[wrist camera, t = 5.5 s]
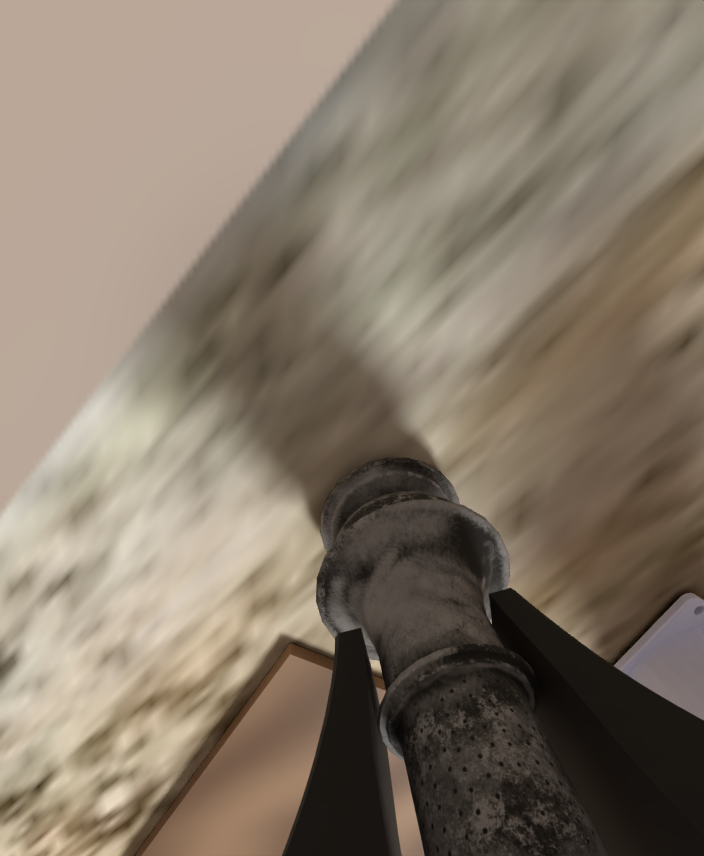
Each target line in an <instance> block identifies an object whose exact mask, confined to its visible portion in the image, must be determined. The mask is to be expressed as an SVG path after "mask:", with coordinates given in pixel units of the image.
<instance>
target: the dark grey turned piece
mask: <svg viewBox="0 0 704 856" xmlns="http://www.w3.org/2000/svg"><path fill="white" fill-rule="evenodd" d="M321 536H322V540H323V543H324V547H325V549H326V551H327V554H326V555H325V557H324V560H323V562H322V565H321V568H320V571H319V574H318V576H317V590H316V603H317V606H318V609H319V612H320V616H321V619H322V622H323V623H324V625H325V626H326V627H327V629H328V630H329V632H330V633H331V634H332V636H333V637H334V638H335V637H336V636H337V635H338V633H342V632H346V631H349V630H353V629H357V628H361V629H362V633H363V637H364V641H365V645H366V649H367V653H368V657H369V658H370V659H373V660H379V661H380V665H381V670H382V675H383V679H384V684H385V689H386V693H385V695H384V697H383V699H382V702H381V704H380V706H379V715H378V726H379V730H380V734H381V738H382V741H383V742H384V744H385V745H386V746H387V748H388V749H389V750H390V752H391V753H392V754H394V755H395V756H397V757H398V758H400V759H401V760H403V761H404V762H405V766H406V771H407V775H408V780H409V785H410V789H411V794H412V799H413V803H414V808H415V813H416V817H417V822H418V827H419V831H420V836H421V841H422V845H423V850H424V855H425V856H609V855H608V852H607V849H606V847H605V845H604V843H603V841H602V838H601V837H600V835H599V833H598V831H597V829H596V827H595V825H594V823H593V821H592V820H591V818H590V816H589V814H588V812H587V810H586V808H585V806H584V804H583V803H582V801H581V799H580V797H579V795H578V793H577V791H576V789H575V787H574V786H573V784H572V782H571V780H570V778H569V776H568V774H567V772H566V770H565V769H564V767H563V765H562V763H561V761H560V759H559V757H558V755H557V754H556V752H555V750H554V748H553V746H552V744H551V742H550V740H549V738H548V737H547V735H546V733H545V731H544V729H543V727H542V725H541V723H540V721H539V720H538V718H537V716H536V714H535V712H536V709H537V705H538V702H539V698H540V697H539V682H538V680H537V678H536V676H535V674H534V672H533V669H532V668H531V666H530V665H529V664H528V663H527V662H526V661H525V660H524V659H523V658H522V657H521V656H520V655H518V654H516V653H514V652H512V651H510V650H508V649H506V648H504V646H503V644H502V643H501V641H500V639H499V637H498V635H497V633H496V632H495V630H494V628H493V626H492V624H491V622H490V620H491V610H490V601H489V594H490V593H494V592H497V591H501V590H505V589H507V586H508V582H509V577H510V566H509V554H508V552H507V549H506V547H505V545H504V543H503V540H502V538H501V536H500V534H499V533H498V532H497V531H496V530H495V528H494V527H493V526H492V525H491V524H490V523H489V522H488V521H487V520H486V519H485V518H484V517H483V516H481V515H479V514H478V513H476V512H474V511H472V510H471V509H469V508H467V507H465V506H464V505H460V503H459V498H458V496H457V494H456V492H455V490H454V487H453V485H452V484H451V483H450V482H449V480H448V479H447V478H446V477H445V476H444V475H443V474H442V473H441V472H440V471H439V470H437V469H435V468H434V467H432V466H430V465H428V464H427V463H425V462H421V461H417V460H413V459H410V458H385V459H381V460H377V461H373V462H369V463H367V464H365V465H363V466H361V467H359V468H357V469H355V470H353V471H351V472H350V473H349V474H348V475H347V476H345V477H344V478H343V479H342V480H341V481H340V482H339V483H337V485H336V486H335V487H334V489H333V490H332V492H331V493H330V495H329V496H328V498H327V499H326V502H325V505H324V508H323V511H322V514H321Z"/></svg>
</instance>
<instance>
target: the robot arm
mask: <svg viewBox="0 0 704 856" xmlns="http://www.w3.org/2000/svg"><path fill="white" fill-rule="evenodd" d="M489 601H490V610H491V619H492V626H493V628H494V630H495V632H496V633H497V635H498V637H499V639H500V641H501V643H502V644H503V646H504V648H506V649H508V650H510V651H512V652H514V653H516V654H518V655H520V656H521V657H522V658H523V659H524V660H525V661H526V662H527V663H528V664H529V665H530V666H531V668H532V669H533V672H534V674H535V676H536V678H537V680H538V682H539V697H540V698H539V702H538V705H537V709H536V712H535V714H536V716H537V718H538V720H539V721H540V723H541V725H542V727H543V729H544V731H545V733H546V735H547V737H548V738H549V740H550V742H551V744H552V746H553V748H554V750H555V752H556V754H557V755H558V757H559V759H560V761H561V763H562V765H563V767H564V769H565V770H566V772H567V774H568V776H569V778H570V780H571V782H572V784H573V786H574V787H575V789H576V791H577V793H578V795H579V797H580V799H581V801H582V803H583V804H584V806H585V808H586V810H587V812H588V814H589V816H590V818H591V820H592V821H593V823H594V825H595V827H596V829H597V831H598V833H599V835H600V837H601V838H602V841H603V843H604V845H605V847H606V849H607V852H608V855H609V856H704V600H703V599H702V598H700V597H698V596H697V595H695V594H693V593H686V594H684V595H682V596H681V597H680V598H679V599H678V600H677V601H676V602H675V603H674V604H673V605H672V606H671V607H670V608H669V609H668V610H667V611H666V612H665V613H664V614H663V615H662V616H661V617H660V618H659V619H658V620H657V621H656V622H655V623H654V624H653V625H652V626H651V628H650V629H649V630H648V631H647V632H646V633H645V634H644V635H643V636H642V637H641V638H640V639H639V640H638V641H637V642H636V643H635V644H634V645H633V646H632V647H631V648H630V649H629V650H628V651H627V652H626V653H625V654H624V655H623V656H622V657H621V659H620V660H619V661H618V662H617V663H616V664H615V665H614V666H613V665H612V664H610V663H609V662H607V661H606V660H604V659H603V658H601V657H600V656H598V655H597V654H596V653H594V652H593V651H591V650H590V649H589V648H587V647H586V646H585V645H583V644H582V643H581V642H579V641H578V640H576V639H575V638H574V637H572V636H571V635H570V634H568V633H567V632H566V631H564V630H563V629H562V628H560V627H559V626H558V625H557V624H555V623H554V622H553V621H551V620H550V619H549V618H548V617H546V616H545V615H544V614H543V613H541V612H540V611H539V610H538V609H536V608H535V607H534V606H533V605H532V604H530V603H529V602H528V601H527V600H526V599H524V598H523V597H522V596H521V595H520V594H518V593H517V592H516V591H515V590H513V589H511V588H509V589H505V590H501V591H497V592H494V593H490V594H489ZM379 706H380V704H379V699H378V694H377V690H376V685H375V681H374V677H373V673H372V669H371V665H370V661H369V657H368V653H367V649H366V645H365V641H364V637H363V633H362V629H361V628H357V629H353V630H349V631H346V632H342V633H338V635H337V636H336V637H335V655H334V665H333V673H332V679H331V686H330V691H329V696H328V702H327V707H326V712H325V717H324V721H323V725H322V729H321V733H320V737H319V741H318V745H317V749H316V753H315V757H314V761H313V764H312V768H311V771H310V775H309V778H308V781H307V785H306V788H305V791H304V794H303V797H302V800H301V803H300V806H299V809H298V812H297V815H296V818H295V821H294V823H293V826H292V829H291V832H290V835H289V837H288V840H287V843H286V846H285V848H284V851H283V854H282V856H402V854H401V848H400V842H399V835H398V828H397V820H396V813H395V805H394V797H393V789H392V781H391V774H390V766H389V758H388V750H387V746H386V745H385V744H384V742H383V741H382V738H381V734H380V730H379V726H378V715H379Z"/></svg>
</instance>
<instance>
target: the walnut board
mask: <svg viewBox="0 0 704 856" xmlns="http://www.w3.org/2000/svg"><path fill="white" fill-rule="evenodd" d="M333 665H334V660H333V659H330V658H328V657H325V656H323V655H320V654H317V653H315V652H312V651H310V650H307V649H305V648H302V647H300V646H297V645H294V644H292V643H290V644H289V645H288V647H287V648H286V649H285V651H284V652H283V653H282V655H281V656H280V658H279V659H278V660H277V662H276V663H275V664H274V666H273V667H272V668H271V670H270V671H269V673H268V674H267V675H266V677H265V678H264V679H263V681H262V682H261V683H260V685H259V686H258V688H257V689H256V690H255V692H254V693H253V694H252V696H251V697H250V698H249V700H248V701H247V703H246V704H245V705H244V707H243V708H242V709H241V711H240V712H239V713H238V715H237V716H236V718H235V719H234V720H233V722H232V723H231V724H230V726H229V727H228V728H227V730H226V731H225V733H224V734H223V735H222V737H221V738H220V739H219V741H218V742H217V743H216V745H215V746H214V748H213V749H212V750H211V752H210V753H209V754H208V756H207V757H206V758H205V760H204V761H203V763H202V764H201V765H200V767H199V768H198V769H197V771H196V772H195V773H194V775H193V776H192V778H191V779H190V780H189V782H188V783H187V784H186V786H185V787H184V788H183V790H182V791H181V793H180V794H179V795H178V797H177V798H176V799H175V801H174V802H173V803H172V805H171V806H170V808H169V809H168V810H167V812H166V813H165V814H164V816H163V817H162V818H161V820H160V821H159V823H158V824H157V825H156V827H155V828H154V829H153V831H152V832H151V833H150V835H149V836H148V838H147V839H146V840H145V842H144V843H143V844H142V846H141V847H140V848H139V850H138V851H137V853H136V854H135V855H134V856H282V854H283V851H284V848H285V846H286V843H287V840H288V837H289V835H290V832H291V829H292V826H293V823H294V821H295V818H296V815H297V812H298V809H299V806H300V803H301V800H302V797H303V794H304V791H305V788H306V785H307V781H308V778H309V775H310V771H311V768H312V764H313V761H314V757H315V753H316V749H317V745H318V741H319V737H320V733H321V729H322V725H323V721H324V717H325V712H326V707H327V702H328V696H329V691H330V686H331V679H332V673H333ZM373 677H374V681H375V685H376V690H377V694H378V699H379V704H381V702H382V699H383V697H384V695H385V693H386V689H385V684H384V679H382V678H379V677H376V676H374V675H373ZM387 750H388V758H389V766H390V774H391V781H392V789H393V797H394V805H395V813H396V820H397V828H398V835H399V842H400V848H401V854H402V856H425V855H424V850H423V845H422V841H421V836H420V831H419V827H418V822H417V817H416V813H415V808H414V803H413V799H412V794H411V789H410V785H409V780H408V775H407V771H406V766H405V762H404V761H403V760H401V759H400V758H398V757H397V756H395V755H394V754H392V753H391V752H390V750H389V749H388V748H387Z"/></svg>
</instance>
